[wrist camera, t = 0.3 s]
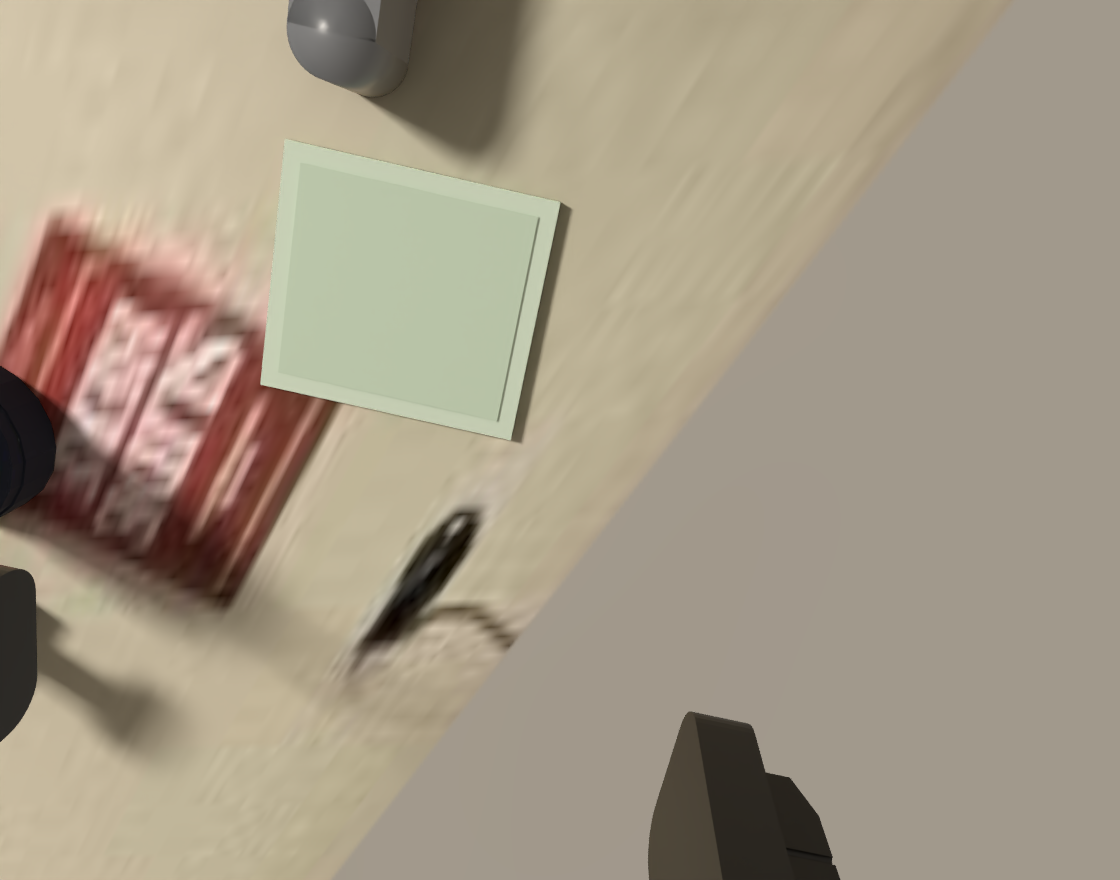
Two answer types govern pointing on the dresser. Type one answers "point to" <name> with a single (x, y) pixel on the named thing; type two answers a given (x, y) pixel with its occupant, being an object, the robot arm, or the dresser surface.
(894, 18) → the dresser surface
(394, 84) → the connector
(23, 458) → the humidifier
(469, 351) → the mat
